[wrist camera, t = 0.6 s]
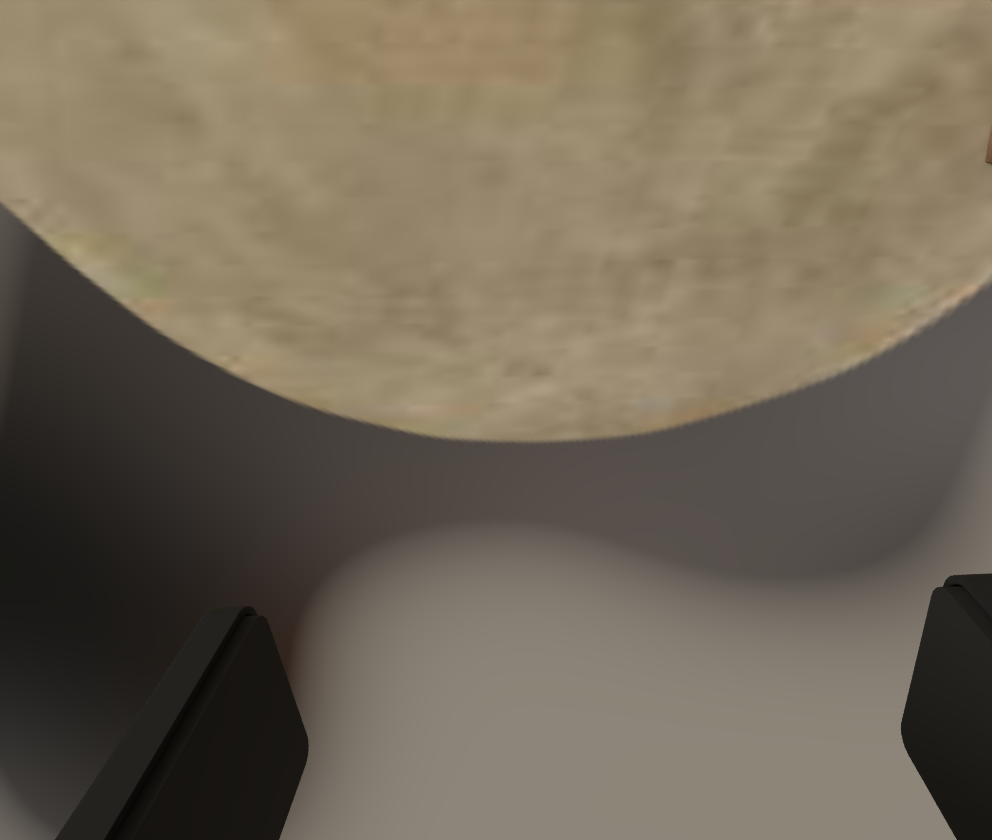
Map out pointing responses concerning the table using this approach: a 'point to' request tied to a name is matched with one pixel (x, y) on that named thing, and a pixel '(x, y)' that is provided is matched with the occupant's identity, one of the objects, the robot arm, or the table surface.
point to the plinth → (989, 150)
